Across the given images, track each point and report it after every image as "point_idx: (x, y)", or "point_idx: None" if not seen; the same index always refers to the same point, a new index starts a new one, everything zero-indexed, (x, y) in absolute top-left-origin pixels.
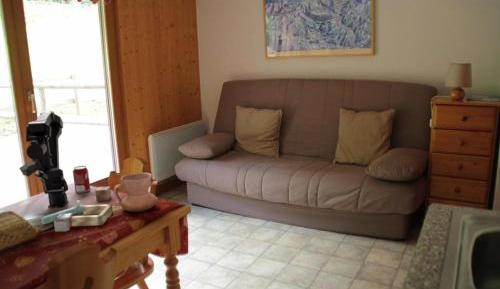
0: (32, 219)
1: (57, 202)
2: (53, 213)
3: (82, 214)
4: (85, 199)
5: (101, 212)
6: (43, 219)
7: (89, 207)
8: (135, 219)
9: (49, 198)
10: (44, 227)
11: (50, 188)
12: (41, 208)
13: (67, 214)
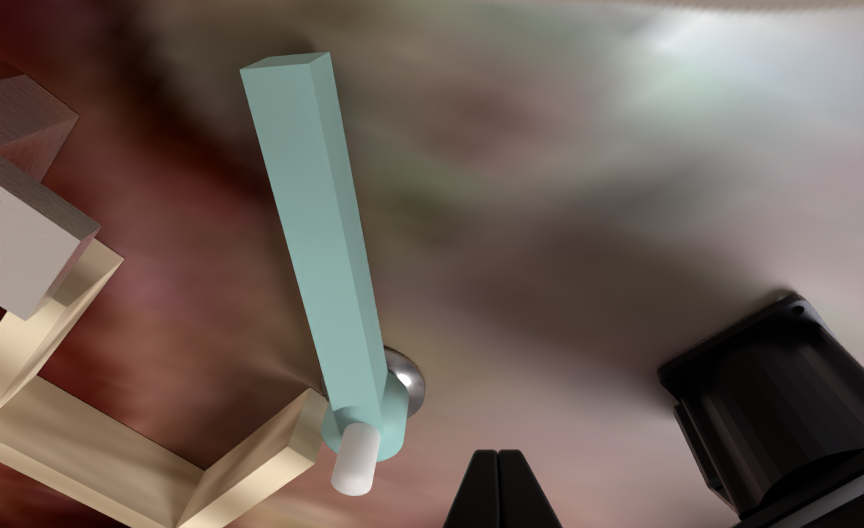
0: (614, 33)
1: (724, 385)
2: (338, 226)
3: (323, 385)
4: (641, 515)
5: (35, 462)
6: (247, 70)
7: (255, 464)
8: (4, 501)
9: (859, 383)
10: (227, 37)
11: (853, 523)
12: (857, 243)
13: (13, 284)
